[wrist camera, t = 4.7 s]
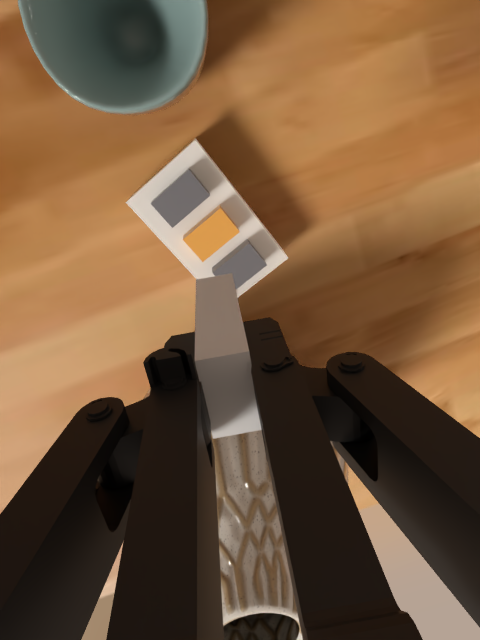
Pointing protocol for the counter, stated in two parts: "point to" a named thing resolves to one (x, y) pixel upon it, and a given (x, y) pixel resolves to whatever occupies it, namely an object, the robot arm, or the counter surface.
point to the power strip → (206, 220)
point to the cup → (120, 50)
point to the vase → (252, 543)
